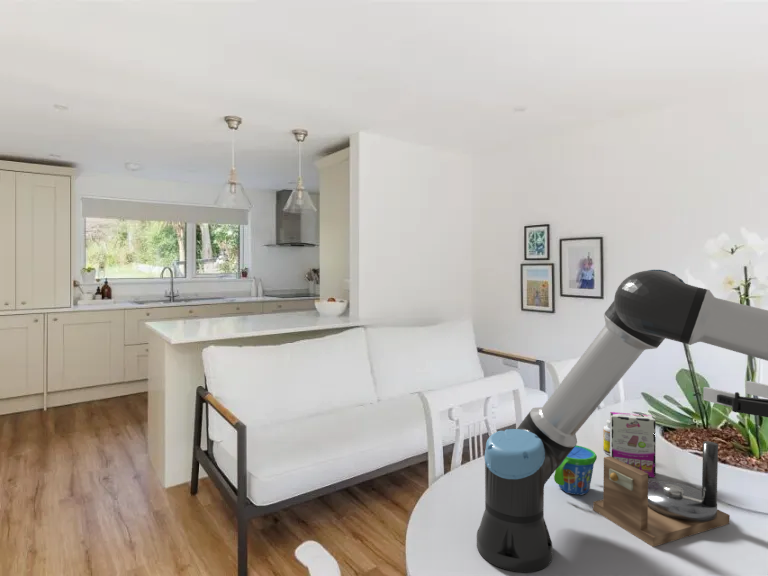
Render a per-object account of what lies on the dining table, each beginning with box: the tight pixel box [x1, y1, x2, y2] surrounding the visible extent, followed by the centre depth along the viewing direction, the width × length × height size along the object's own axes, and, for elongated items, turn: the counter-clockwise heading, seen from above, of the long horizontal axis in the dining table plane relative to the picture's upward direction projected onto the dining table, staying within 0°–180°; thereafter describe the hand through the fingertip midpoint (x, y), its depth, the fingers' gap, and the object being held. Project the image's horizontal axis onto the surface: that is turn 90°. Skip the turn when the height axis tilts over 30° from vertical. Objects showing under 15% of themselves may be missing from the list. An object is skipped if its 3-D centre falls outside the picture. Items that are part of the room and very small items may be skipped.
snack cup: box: [553, 444, 598, 496], centre depth 121 cm, size 16×10×10 cm
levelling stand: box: [592, 455, 731, 548], centre depth 107 cm, size 26×16×14 cm, turn 111°
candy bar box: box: [609, 411, 657, 478], centre depth 131 cm, size 11×5×16 cm, turn 70°
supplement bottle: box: [602, 419, 610, 456], centre depth 145 cm, size 6×6×10 cm
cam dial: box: [648, 440, 719, 522], centre depth 108 cm, size 15×15×16 cm
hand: (726, 390), depth 99 cm, fingers open, 13 cm apart
